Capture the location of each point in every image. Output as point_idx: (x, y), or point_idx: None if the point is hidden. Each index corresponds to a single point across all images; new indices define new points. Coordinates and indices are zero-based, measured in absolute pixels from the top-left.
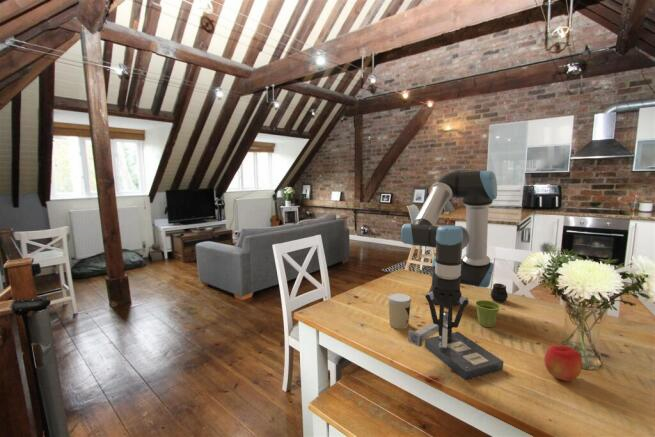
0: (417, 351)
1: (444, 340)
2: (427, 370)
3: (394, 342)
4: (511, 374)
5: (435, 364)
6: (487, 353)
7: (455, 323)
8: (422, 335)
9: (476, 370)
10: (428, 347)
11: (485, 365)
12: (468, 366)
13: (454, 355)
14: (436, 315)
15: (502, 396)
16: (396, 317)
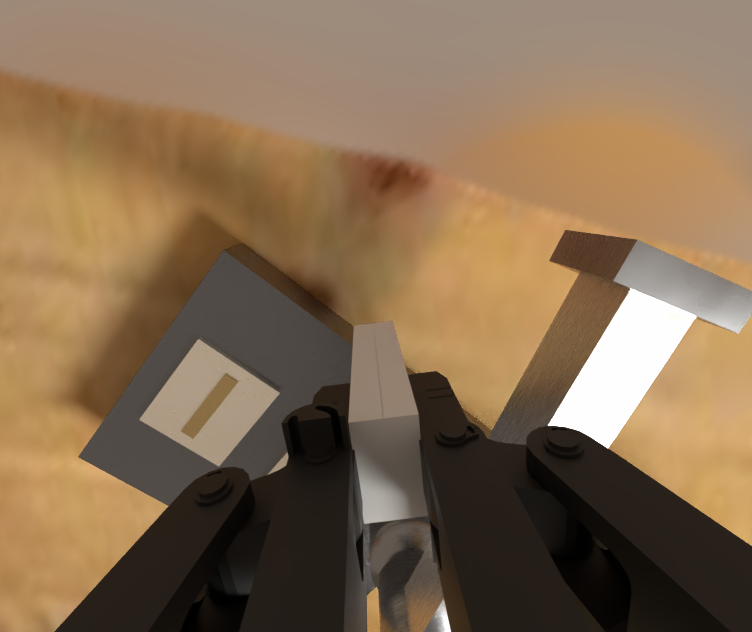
0: (522, 374)
1: (375, 345)
2: (444, 230)
3: (651, 394)
4: (70, 410)
5: (414, 307)
6: (170, 487)
7: (202, 531)
8: (587, 332)
9: (184, 308)
10: (475, 423)
11: (147, 371)
12: (227, 312)
13: (324, 383)
14: (596, 620)
15: (53, 206)
16: None
